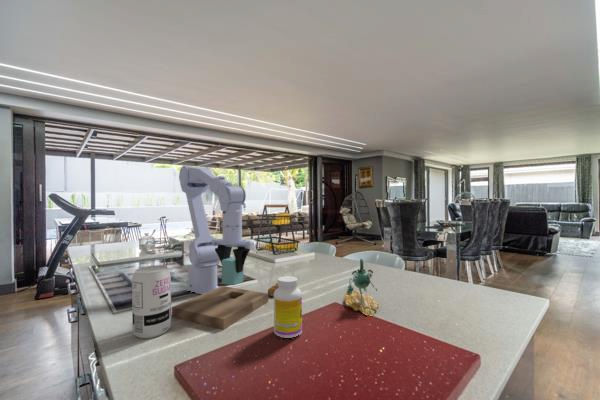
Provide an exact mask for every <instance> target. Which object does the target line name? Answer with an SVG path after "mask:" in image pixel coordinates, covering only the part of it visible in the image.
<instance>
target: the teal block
mask: <svg viewBox="0 0 600 400" xmlns="http://www.w3.org/2000/svg"><path fill="white" fill-rule="evenodd" d="M244 278H245V277H244V270H243V271H242V272H239V273H237V272H236V261H235V256H234V257H233V256H230V258H227V259H224V260H222V264H221V284H222V285H230V286H236V285H238V284H241V283H243V282H244V280H245V279H244Z"/></svg>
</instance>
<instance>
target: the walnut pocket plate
mask: <svg viewBox="0 0 600 400" xmlns="http://www.w3.org/2000/svg"><path fill="white" fill-rule="evenodd" d="M267 303H269V295H268V292H267V293H266V292H261V291H255V290H248V289H242V288H237V287H230V286H224V285H222V286H220V287H219V288H216V289H214V290H211V291H209V292H207V293H204V294H199V295H197V296H195V297H193V298H190V299H188V300H186V301H183V302H181V303H179V304H177V305H174V306H171V318H172V317H173V318H177V319H181V320H184V321H187V322H188V321H189V322H193V323H197V324H200V325H205V326H209V327H213V328H217V329H220V330H225V329H227V328H228V327H230V326H232V325H233V324H235V323H238V322H239V321H240V320H242V319H243V318H245V317H246V316H248V315H250V314H251V313H253V312H254V311H256V310H258V309H259V308H261V307H263V306H264V305H265V304H267Z"/></svg>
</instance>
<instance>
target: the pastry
mask: <svg viewBox="0 0 600 400" xmlns="http://www.w3.org/2000/svg"><path fill="white" fill-rule="evenodd" d="M278 288H279V286H278V282H277V283H276V284H274V285H273V286H271V287H269V288H268V289H267V294H268V296H271V297H273V298H274V292H275V290H276V289H278Z"/></svg>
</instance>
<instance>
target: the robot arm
mask: <svg viewBox="0 0 600 400" xmlns="http://www.w3.org/2000/svg"><path fill="white" fill-rule="evenodd" d="M178 180H179V184H180V189H181V191H182V192H183V193H184V194H185V196H186V200H187V205H188V210H189V214H190V219H191V224H192V229H193V233H194V239H193V240H192V241H191V242H190V243H189V245H188V251H189V253H188V258H189V262H190V263H191V265H190V266H189V269H188V272H187V280H188V281H187V282H188V283H187V289H186V290H185V291H186V292H187V291H189V290H190V291H191V292H190V293H192V292H195V293H194V294H198V295H202V294H204V293H207V292H209V291H211V290H214V289H216V288H219V287H221V286H219V285H218V265H219V264H220V265H222V260H224V259H227V258H230V257H231V253H233V255H234V257H235V261H236V272H237V273H239V272H242V271H243V272H244V266H245V262H246V259H247V257H248V255H249V253H250V252H251V249H252V250H253V249H255V241H253V240H252V241H251V240H246V239H243V212H242V211H243V204H245V201H246V190H245V188H244V187H243V186H242V185H237V186H235V185H234V184H233V182H231V181H229V180H227V179H226V177H225V176H223V175H219V176H216V175H215V174H213V171H212V168H210V167H207V166H205V167H204V166H203V167H202V166H189V165H185V164H183V165H182V166H181V167H180V169H179V174H178ZM208 187H209V191H210V192H211V193H212V194H214V195H215V196H216V197H217V199H218V203H219V204H220V205H219V206H220V207H219V208H220V211H221V212H222V213H221V215H222V216H221V217H222V221H221V222H222V226H221V227H222V238H216V237H215V236H213V235H211V232H210V228H209V223H208V219H207V215H206V210H205V206H204V201H203V197H202V194H203V193H205V192H207V190H208ZM232 248H234V249H232Z"/></svg>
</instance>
